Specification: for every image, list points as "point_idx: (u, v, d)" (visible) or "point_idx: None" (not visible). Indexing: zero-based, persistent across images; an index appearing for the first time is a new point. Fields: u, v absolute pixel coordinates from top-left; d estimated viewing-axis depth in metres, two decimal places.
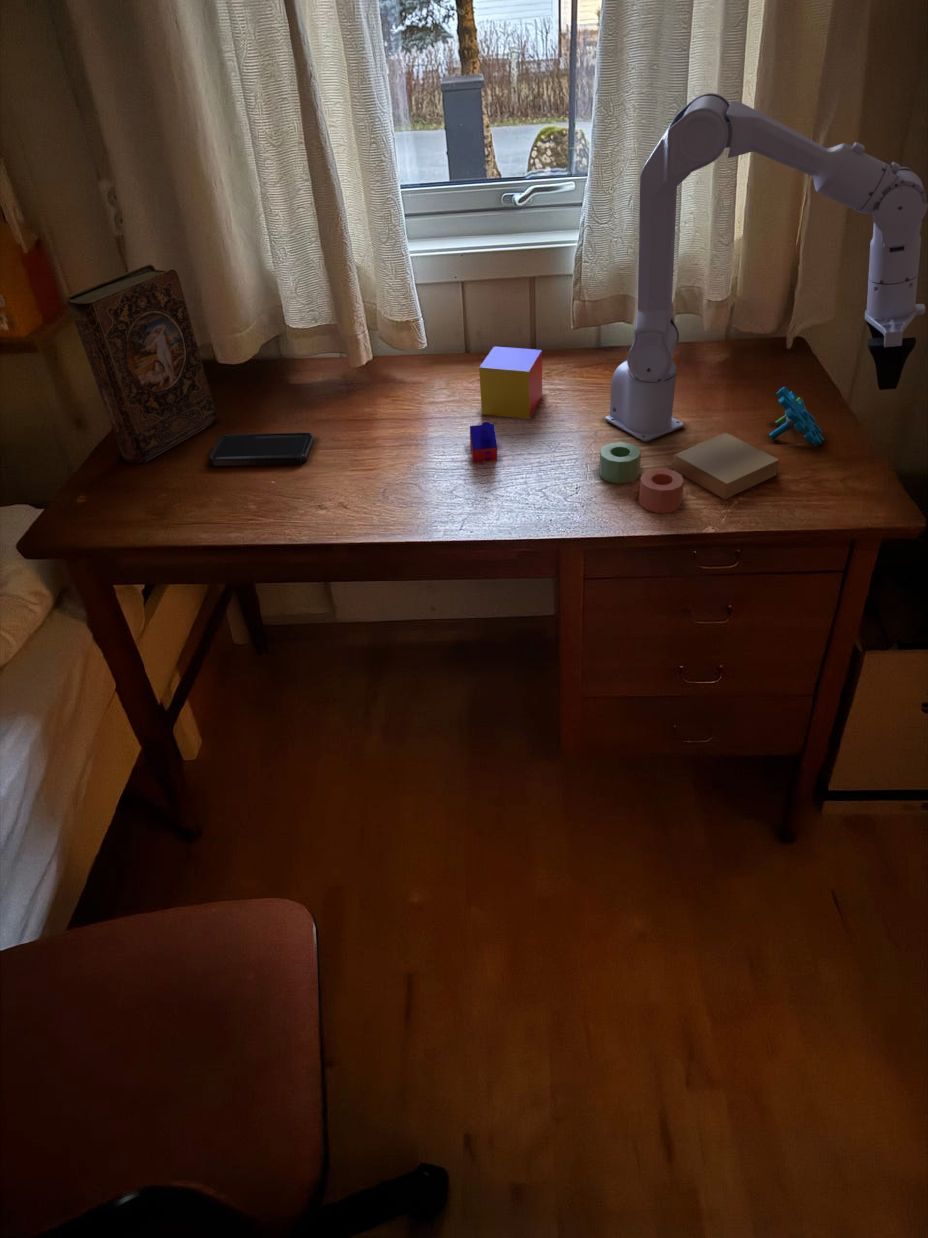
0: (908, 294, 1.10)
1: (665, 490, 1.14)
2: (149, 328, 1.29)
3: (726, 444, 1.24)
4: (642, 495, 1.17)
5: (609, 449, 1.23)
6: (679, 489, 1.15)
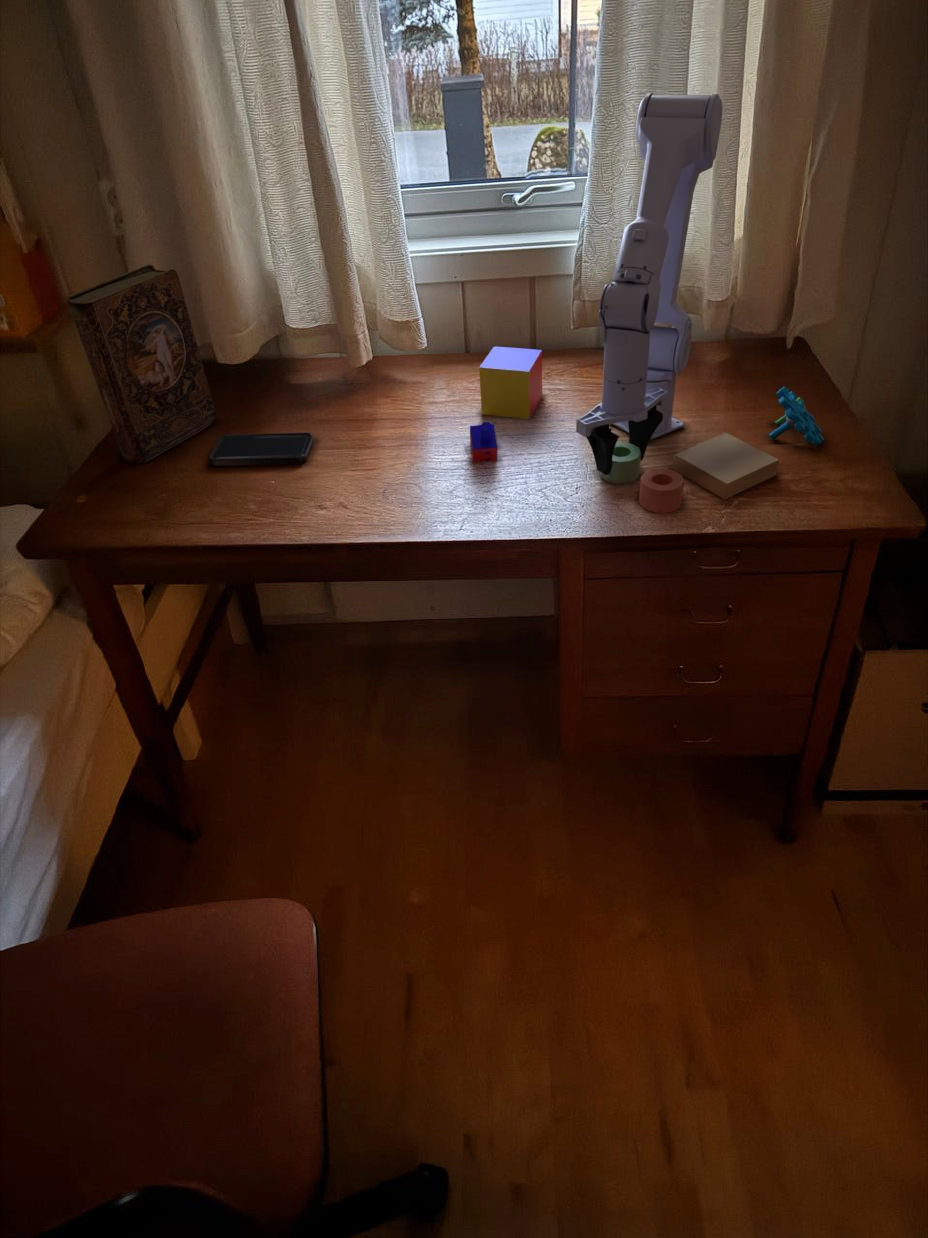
0: (620, 396, 1.14)
1: (665, 490, 1.14)
2: (149, 328, 1.29)
3: (726, 444, 1.24)
4: (642, 495, 1.17)
5: None
6: (679, 489, 1.15)
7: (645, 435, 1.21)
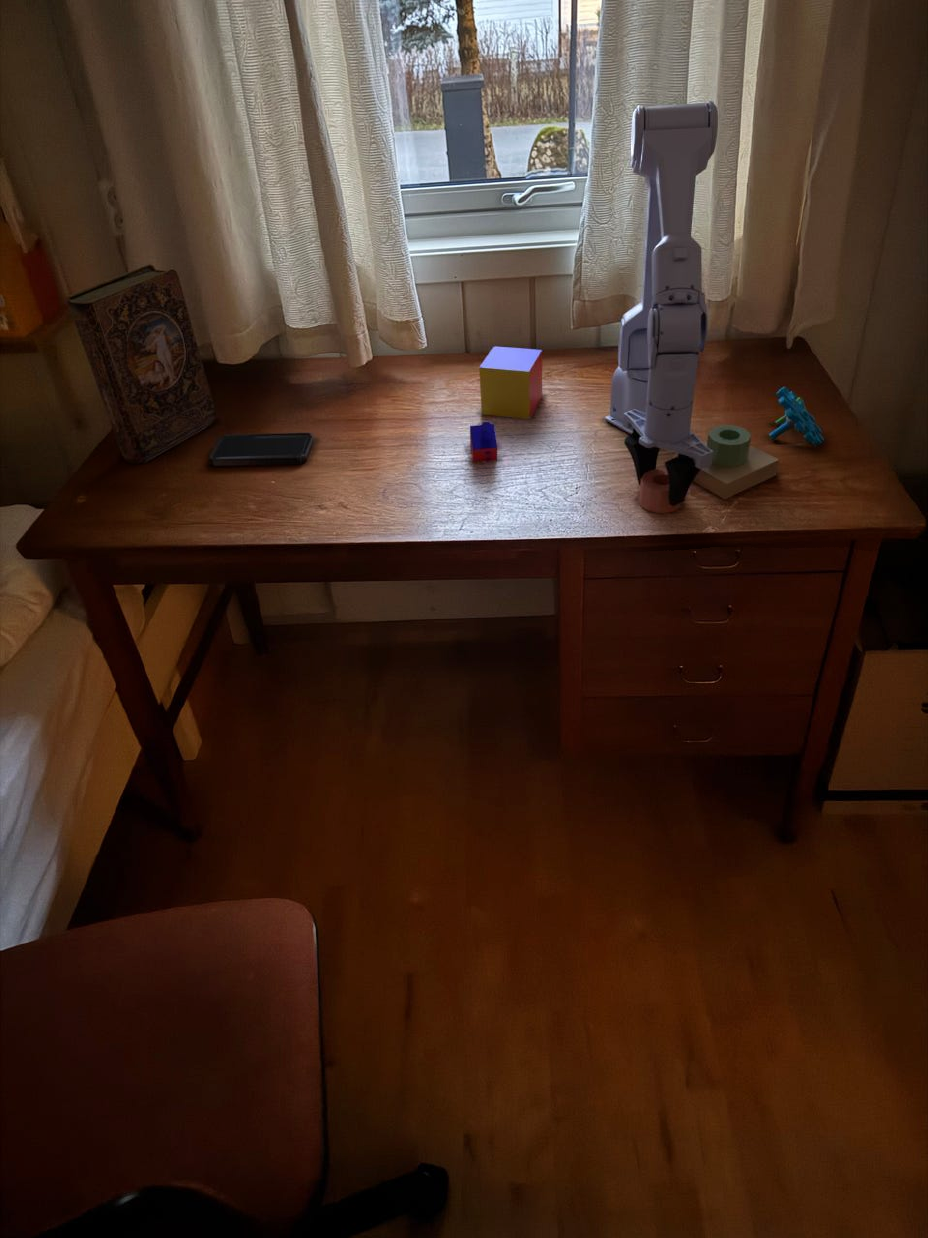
0: None
1: (665, 490, 1.14)
2: (149, 328, 1.29)
3: None
4: (642, 495, 1.17)
5: (733, 429, 1.20)
6: None
7: (669, 478, 1.12)
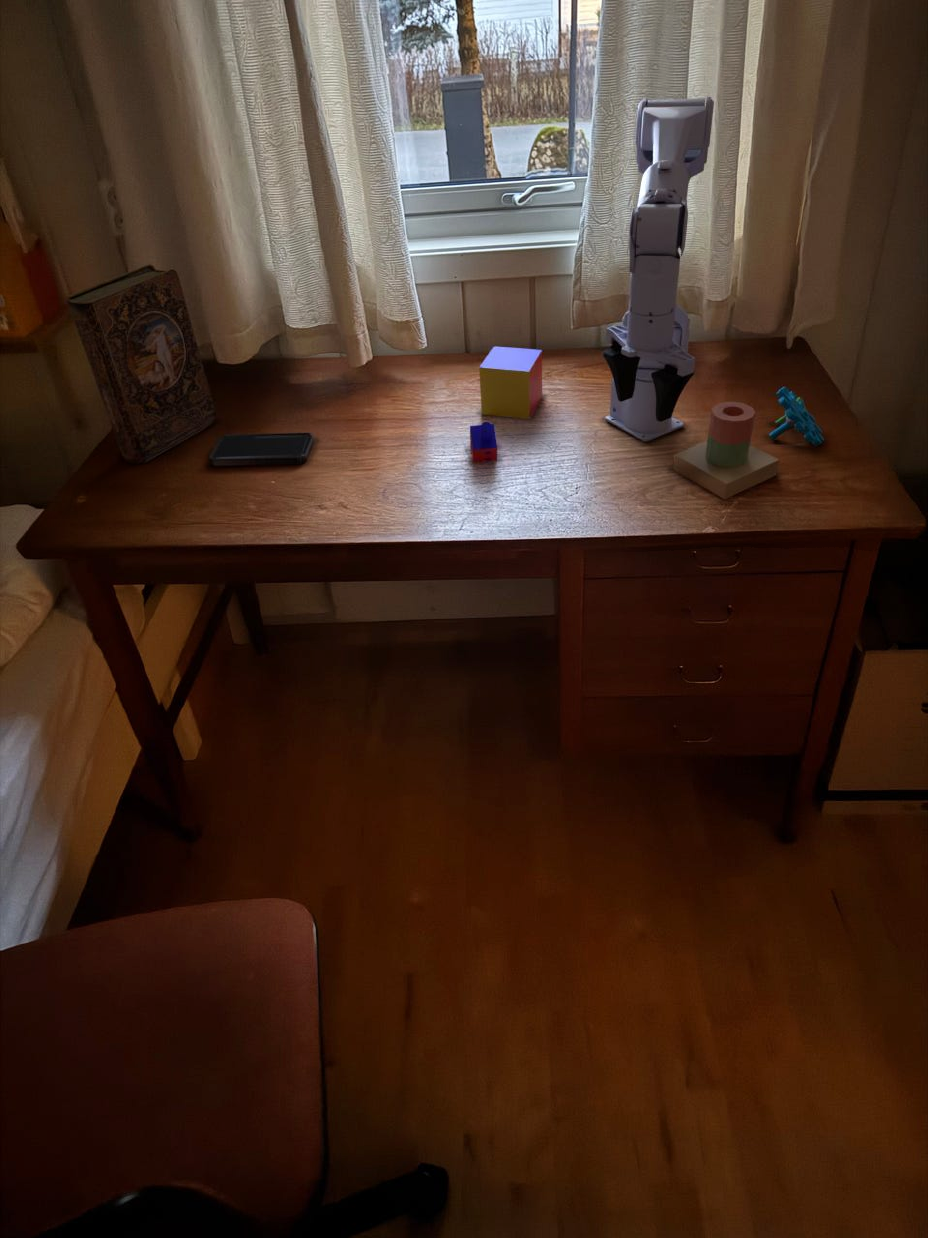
0: None
1: (737, 421, 1.15)
2: (149, 328, 1.29)
3: None
4: (713, 427, 1.18)
5: None
6: (751, 420, 1.16)
7: None
